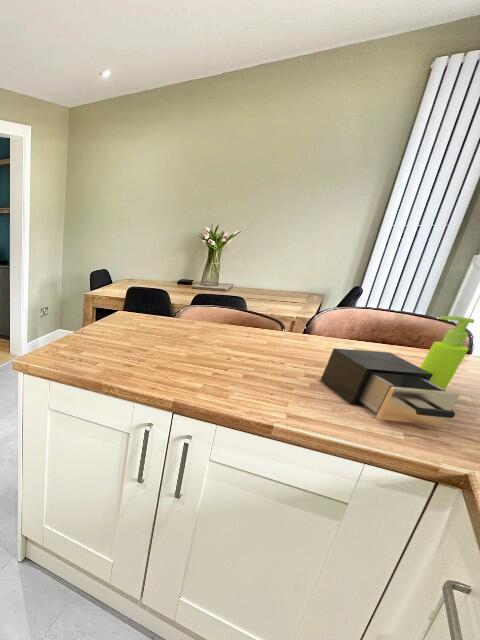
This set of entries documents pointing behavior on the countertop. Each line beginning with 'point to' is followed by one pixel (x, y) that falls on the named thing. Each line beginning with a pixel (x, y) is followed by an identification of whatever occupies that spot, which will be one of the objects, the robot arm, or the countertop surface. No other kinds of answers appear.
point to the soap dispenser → (447, 353)
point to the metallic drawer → (407, 399)
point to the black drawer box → (363, 370)
